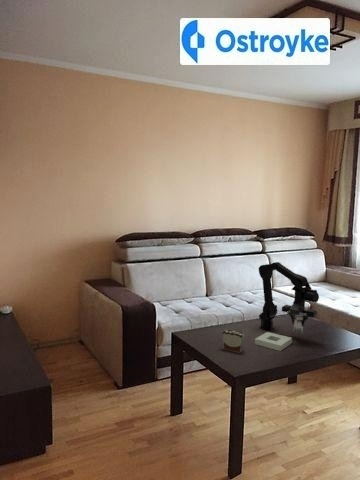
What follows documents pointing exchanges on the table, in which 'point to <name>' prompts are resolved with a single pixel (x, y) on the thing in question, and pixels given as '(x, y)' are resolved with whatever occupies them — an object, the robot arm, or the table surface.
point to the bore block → (273, 341)
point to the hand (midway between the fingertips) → (298, 325)
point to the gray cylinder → (298, 325)
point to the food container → (232, 340)
